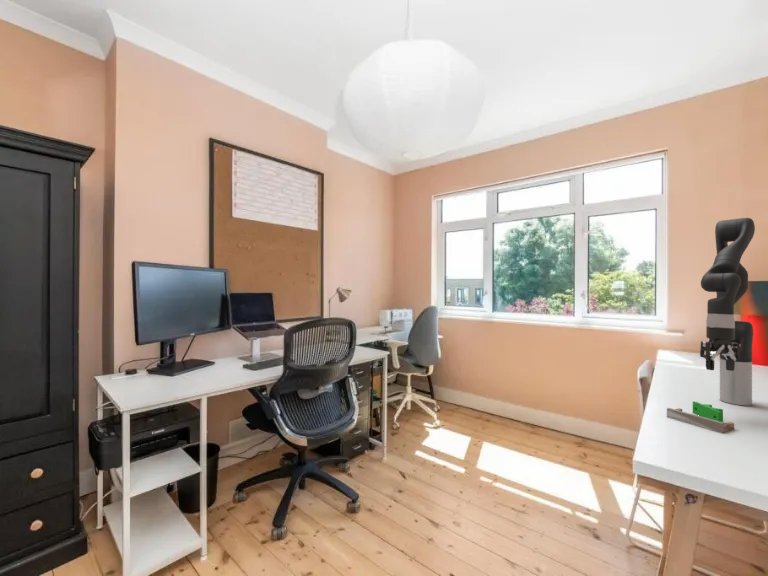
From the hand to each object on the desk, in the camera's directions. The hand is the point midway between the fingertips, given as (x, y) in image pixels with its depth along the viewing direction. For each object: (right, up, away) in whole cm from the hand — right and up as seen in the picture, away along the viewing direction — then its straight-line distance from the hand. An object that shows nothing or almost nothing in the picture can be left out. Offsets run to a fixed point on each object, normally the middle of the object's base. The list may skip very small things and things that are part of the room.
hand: (720, 370), depth 125 cm
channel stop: (-16, -16, -9) cm, 24 cm away
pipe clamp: (-9, -16, -6) cm, 19 cm away
